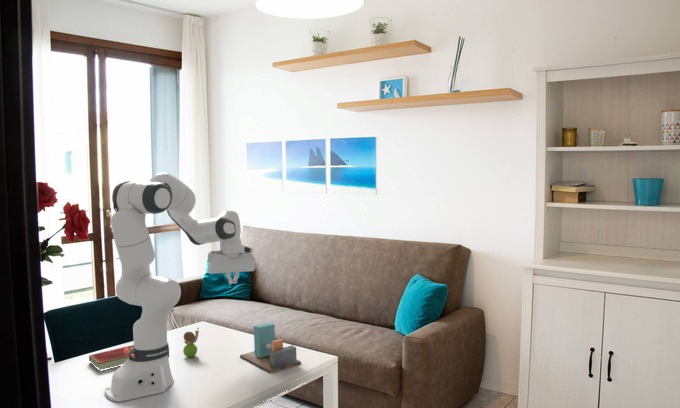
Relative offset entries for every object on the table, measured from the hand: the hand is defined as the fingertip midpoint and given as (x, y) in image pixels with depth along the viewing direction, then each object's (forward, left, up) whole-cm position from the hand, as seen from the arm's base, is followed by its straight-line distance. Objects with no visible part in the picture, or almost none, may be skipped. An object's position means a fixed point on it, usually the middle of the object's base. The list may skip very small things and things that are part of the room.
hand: (233, 283), depth 218 cm
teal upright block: (+4, -17, -27) cm, 32 cm away
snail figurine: (-17, +5, -28) cm, 33 cm away
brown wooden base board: (+4, -20, -28) cm, 35 cm away
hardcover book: (-39, +20, -29) cm, 53 cm away
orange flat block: (+6, -26, -27) cm, 38 cm away
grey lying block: (+4, -30, -28) cm, 41 cm away
